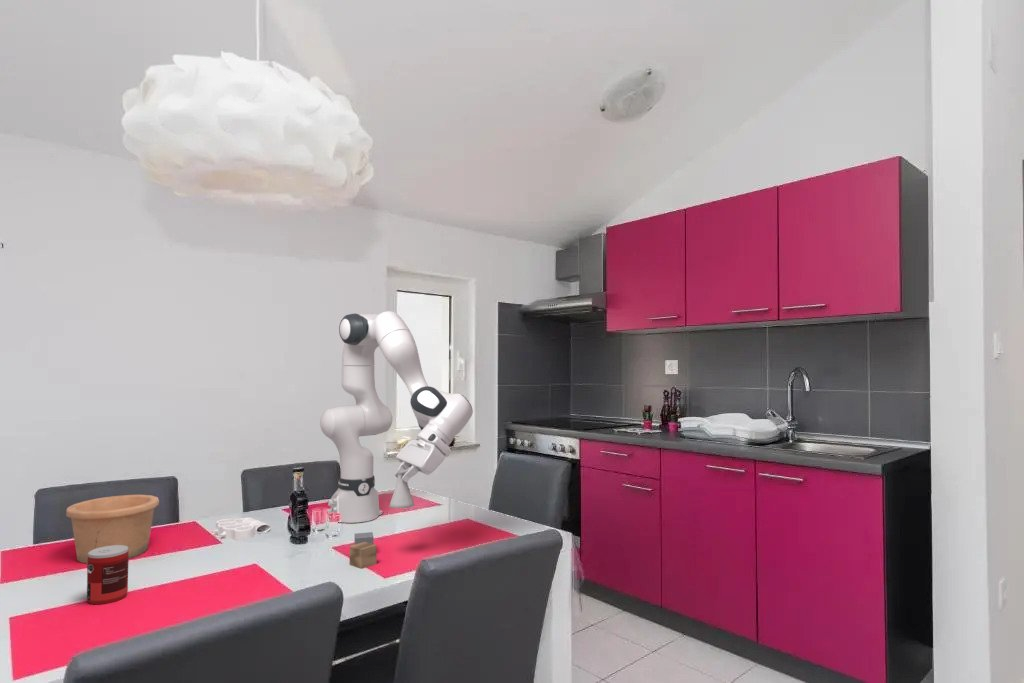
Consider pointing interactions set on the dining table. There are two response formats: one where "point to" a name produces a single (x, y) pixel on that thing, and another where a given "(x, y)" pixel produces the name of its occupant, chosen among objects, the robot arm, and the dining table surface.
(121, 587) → the canned food
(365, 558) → the walnut block
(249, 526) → the white holed piece
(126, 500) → the pottery
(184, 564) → the dining table surface
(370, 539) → the charcoal block
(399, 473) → the flask
